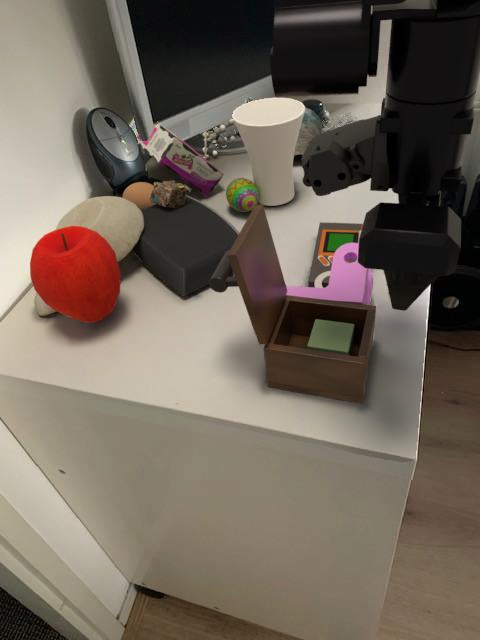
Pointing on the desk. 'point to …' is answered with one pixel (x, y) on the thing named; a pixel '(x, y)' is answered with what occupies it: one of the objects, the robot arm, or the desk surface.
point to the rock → (169, 194)
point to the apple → (76, 273)
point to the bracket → (342, 280)
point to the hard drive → (184, 243)
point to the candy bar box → (180, 159)
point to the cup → (271, 144)
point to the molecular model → (220, 139)
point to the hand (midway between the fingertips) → (404, 274)
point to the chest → (318, 366)
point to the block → (332, 337)
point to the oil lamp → (103, 227)
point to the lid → (254, 273)
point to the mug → (307, 130)
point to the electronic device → (330, 249)
